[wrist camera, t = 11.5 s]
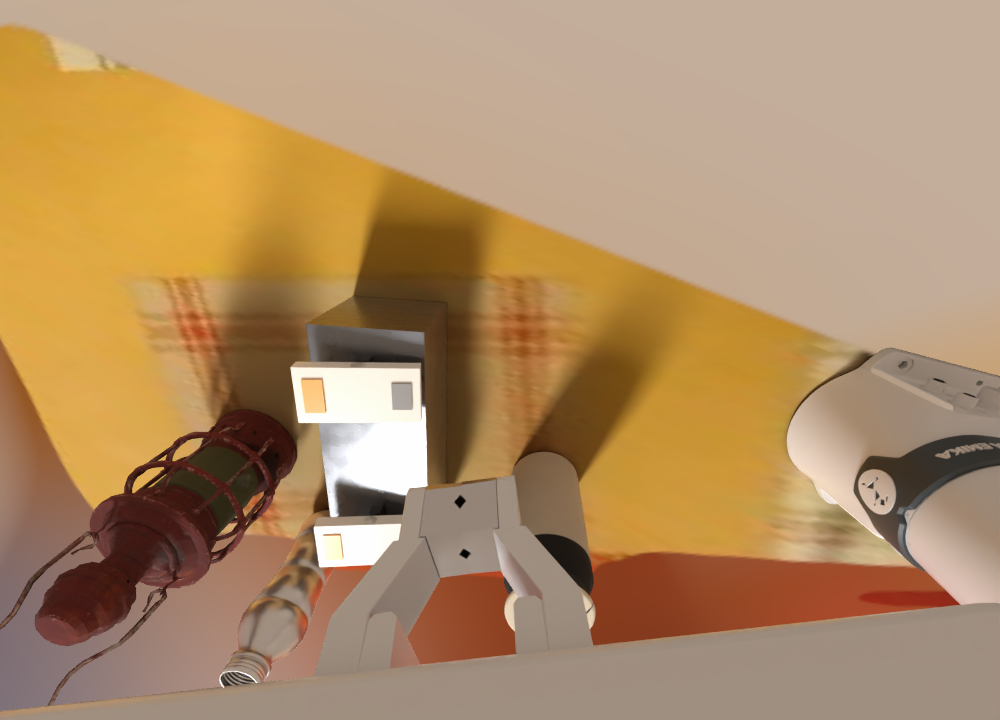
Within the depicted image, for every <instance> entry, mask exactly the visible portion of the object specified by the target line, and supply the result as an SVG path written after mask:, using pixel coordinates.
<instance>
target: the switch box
mask: <svg viewBox="0 0 1000 720" xmlns="http://www.w3.org/2000/svg"><path fill="white" fill-rule="evenodd" d="M306 329H307V336H308V344H309V352H310V360H311V362H377V363H421V385H422V420H421V423H319V431H320V439H321V446H322V454H323V462H324V470H325V478H326V486H327V494H328V501H329V509H330V517H351V516H381V515H403V511H404V505H405V499H406V493H407V491H408V489H409V488H412V487H421V486H430V485H440V484H446V438H447V303H446V302H431V301H416V300H401V299H387V298H372V297H357V296H352V297H351V298H349V299H347V300H346V301H344V302H342V303H341V304H339V305H337V306H336V307H334V308H332V309H330V310H329V311H327V312H325V313H324V314H322V315H320V316H319V317H317V318H315V319H314V320H312V321H310V322H308V323H307V324H306Z"/></svg>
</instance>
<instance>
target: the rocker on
mask: <svg viewBox="0 0 1000 720" xmlns="http://www.w3.org/2000/svg"><path fill="white" fill-rule="evenodd" d="M290 368H291V375H292V382H293V389H294V396H295V402H296V409H297V416H298V423H421V420H422V385H421V363H377V362H295V363H294V364H293V365H292V366H291V367H290Z"/></svg>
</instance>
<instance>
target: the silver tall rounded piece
mask: <svg viewBox="0 0 1000 720" xmlns="http://www.w3.org/2000/svg"><path fill="white" fill-rule="evenodd" d="M321 517H330V510H322V511H319V512H316V513H314V514H313V515H311V516H310V517H309V518H308V519H307V520H306V521H305V523H304V524H303V525H302V527H301V529H300V531H299V533H298V535H297V537H296V540H295V543H294V545H293V547H292V549H291V551H290V553H289V554H288V556H287V558H286V560H285V562H284V563H283V565H282V566H281V567H280V569H279V571H278V572H277V573H276V574H275V575H274V577H273V578H272V580H271V581H270V582H269V584H268V585H267V586H266V587H265V588H264V589H263V591H262V592H261V593H260V594H259V595H258V596H257V597H256V599H255V600H254V601H253V602H252V603H251V604H250V606H249V607H248V608H247V609H246V611H245V612H244V613H243V615H242V617H241V620H240V623H239V627H238V638H237V641H238V651H236V652H234V653H233V654H232V655H231V657H230V658H229V660H228V664H227V665H226V666H225V668H224V670H223V671H222V673H221V675H220V677H219V682H220V684H221V685H222V687H225V686H234V685H243V684H252V683H261V682H263V681H264V680H265V678H266V677H267V676H268V675H269V673H270V671H271V668H272V665H271V664H273V663H274V662H276V661H278V660H280V659H282V658H283V657H285V656H286V655H288V654H289V653H290V652H292V651H293V650H294V649H295V648H296V647H297V646H298V645H299V644H300V642H301V641H302V640H303V638H304V636H305V634H306V631H307V629H308V626H309V623H310V620H311V617H312V614H313V611H314V609H315V606H316V603H317V601H318V599H319V596H320V594H321V592H322V589H323V587H324V585H325V583H326V581H327V579H328V578H329V576H330V575H331V573H332V571H333V570H334V568H335V567H336V566H334V567H320V566H319V560H318V553H317V546H316V539H315V533H314V525H315V523H316V520H317V518H321Z"/></svg>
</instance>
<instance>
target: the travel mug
mask: <svg viewBox="0 0 1000 720" xmlns="http://www.w3.org/2000/svg"><path fill="white" fill-rule="evenodd" d="M513 475H514V476H515V481H516V488H517V495H518V503H519V510H520V517H521V525H522V526H526V527H527V528H528V529H529V530H530V532H531V533H532V534H533V535H534V536H535V537H536V538H537V539H538V541H539V542H540V543H541V544H542V545H543V546H544V547H545V549H546V550H547V551H548V552H549V553H550V554H551V555H552V557H553V558H554V559H555V560H556V561H557V562H558V563H559V565H560V566H561V567H562V568H563V569H564V570H565V571H566V572H567V574H568V575H569V576H570V577H571V578H572V579H573V580H574V582H575V583H576V584H577V585H578V586H579V587H580V588H581V591H582V595H583V600H584V605H585V610H586V614H587V619H588V624H589V628H591V627H592V625H593V623H594V620H595V606H594V604H593V601H592V599H591V598H590V596H589V595H590V593H591V591H592V588H593V573H592V566H591V560H590V554H589V547H588V541H587V534H586V528H585V522H584V515H583V509H582V502H581V496H580V489H579V483H578V477H577V472H576V470H575V468H574V466H573V465H572V464H571V463H570V461H568V460H567V459H566V458H564V457H563V456H561V455H558V454H556V453H551V452H536V453H532V454H530V455H527V456H525V457H524V458H522V459H521V460H520V461H519V462H518V463H517V464H516V465H515V467H514V469H513V471H512V476H513ZM504 584H505V587H506V589H507V591H508V593H509V596H508V598H507V600H506V603H505V609H504V611H505V617H506V620H507V622H508V624H509V625H510V627H511V628H512V629H513V630H514V631H515V623H514V606H513V603H514V602H515V601H516V599H517V598H518V596H517V595H516V593H515V592H514V590H513V589H512V587H511V586H510V584H509V583H508V581H507V580H506V578H505V577H504Z"/></svg>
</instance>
